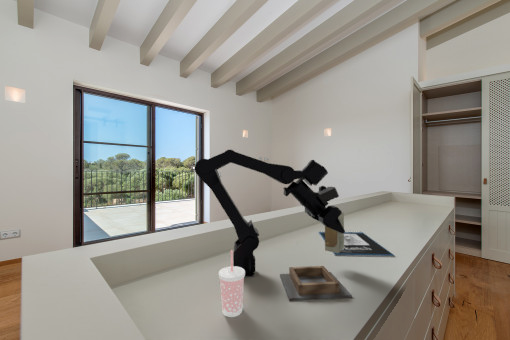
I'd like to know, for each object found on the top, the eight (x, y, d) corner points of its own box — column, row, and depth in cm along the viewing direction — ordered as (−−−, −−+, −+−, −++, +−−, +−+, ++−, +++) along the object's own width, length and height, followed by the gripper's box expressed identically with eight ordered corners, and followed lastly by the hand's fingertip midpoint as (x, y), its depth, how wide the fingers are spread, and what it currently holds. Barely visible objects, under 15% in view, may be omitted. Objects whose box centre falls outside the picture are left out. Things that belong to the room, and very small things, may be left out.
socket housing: (289, 300, 55) (289, 288, 55) (279, 276, 68) (279, 265, 68) (351, 297, 56) (351, 285, 56) (330, 273, 69) (330, 263, 69)
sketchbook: (334, 257, 84) (334, 252, 84) (318, 234, 114) (318, 230, 114) (394, 258, 82) (394, 252, 82) (361, 234, 112) (361, 230, 112)
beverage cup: (220, 303, 55) (219, 246, 55) (245, 302, 55) (244, 245, 55) (217, 319, 48) (216, 255, 49) (245, 318, 49) (245, 254, 49)
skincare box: (331, 245, 77) (331, 210, 77) (344, 248, 74) (344, 211, 74) (324, 250, 72) (324, 212, 72) (337, 253, 69) (337, 214, 69)
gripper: (335, 179, 64) (372, 217, 64) (313, 177, 82) (342, 207, 83) (307, 207, 63) (345, 245, 64) (292, 199, 82) (321, 228, 82)
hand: (338, 229), depth 73 cm, fingers closed on skincare box, 7 cm apart
